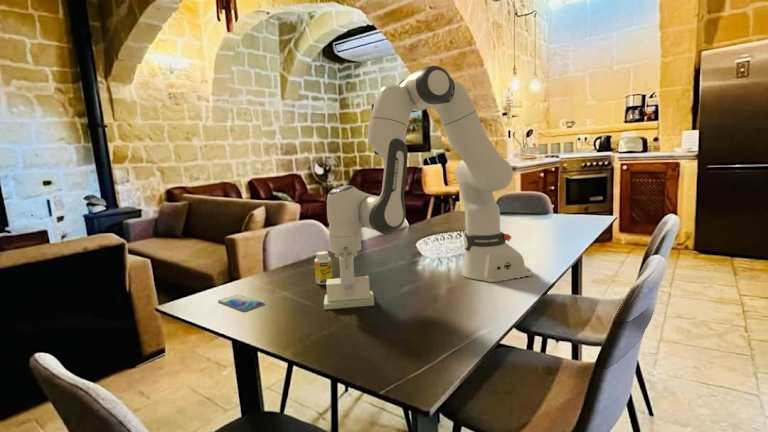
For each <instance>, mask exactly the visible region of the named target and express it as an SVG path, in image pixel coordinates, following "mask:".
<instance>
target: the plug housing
mask: <svg viewBox="0 0 768 432" xmlns="http://www.w3.org/2000/svg"><path fill="white" fill-rule="evenodd" d="M354 279H355V283H354V285H352V295H351V296H346V294H345V286H342V285H341V279H340V277H337V278H332V279H327V282H326V284H325V285H326V295H327V301H328V302H330V301H342V300H354V299H365V298H370V291H371V288H370V278H369V275H364V276H354Z"/></svg>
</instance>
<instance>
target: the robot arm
mask: <svg viewBox="0 0 768 432" xmlns="http://www.w3.org/2000/svg"><path fill="white" fill-rule="evenodd" d="M377 93H378V94H377V96H376V98H375V101H374V104H373V108H372V110H371V114H370V118H369V123H368V129H367V141H368V143H369V145H370V147H371V148H372V150H374V152H376V153H377V154H378V155H379V156H380V157H381V158H382V160H383V165H384V168H383V174H382V175H383V177H382V184H381V185H382V187H381V193H380V195H373V194H370V193H367V192H364V191H362V190H359V189H358V188H356V187H355V186H354V185H351V184H350V185H349V184H348V185H346V184H345V185H342V186H341V185H340V186H337V187H334V188H332V189H331V190H330V191H329V192H328V194H327V199H326V217H327V218H326V219H327V222H328V225H329V231H328V240H329V242H328V243H329V251H330V253H333V254H334V257H335V258H337V259H338V260H339V263H338V264H339V275H340V277H339V278H340V279H341V285H342V286H345V294H346V296H351V295H352V285H354V283H355V279H354V277H355V269H354V258H355V257H356V256H358V251H359V252H360V250H361V249H362V241H361V237H362V236H361V229H362V228H367V229H369V230H372V231H376V232H378V233H380V234H382V235H392V234H394V233H396V232H398V231H399V230H400V229H401V228H402V227H403V224H404V222H405V220H406V205H405V190H406V182H407V181H406V180H407V170H408V159H409V158H408V157H409V156H408V153H409V151H408V147H407V146H408V145H406V144H407V143H406V141H407V140H406V139H407V130H408V125H409V122H410V121H409V119H410V116H411V114H412V113H417V112H420V111H424V110H428V109H429V108H432V109H434V110H435V112H436V114H437V115H438V117H439V120H440V123H441V125H442V128H443V129H444V132H445V135H446V137H447V140H448V142H449V144H450V146H451V148H452V149H453V151H455V153H456V154H457V155H458V156H459V157H460V158H461V160H460V161H459V162H457V163H456V165H455V167H454V170H453V171H454V172H453V173H454V174H453V175H454V178H455V180H456V182H457V183H458V186H459V189H460V194H461V196H462V197H461V198H462V201H463V207H464V218H465V219H464V222H465V223H464V225H465V232H464V236H463V245H464V250H465V252H464V261H463V266H462V267H463V268H462V269H461V275H462V276H463V277H465V278H468V279H472V280H476V281H477V280H479V281H485V282H489V283H495V282H503V280H504V281H509V279H510V280H515V279H514V278H517V279H521V278H520V277H523V278H526V277H525V276H529V275H532V276H533V271H532V269H530V267H528V266H526V264H525V260H524V257H523V255H522V253H520V252H519V251H517V250H516V249H515V248H513V246H511V245H509V244H508V243H507V242H509V241H511V240H512V236H511V235H510V234H509V233H504V232H502V231H501V210H500V206H499V205H498V203H497V202H496V199H495V196H494V193H493V192H498V191H502V190H504V189H506V188H508V186H509V185H510V184H511V183H512V180H513V176H514V171H513V167H512V165H511V163H510V162H508V161H507V160H506V159H505V158H504V157H503V156H502V155H501V154H500V153H499V152H498V150H497V149H496V147H495V146H494V144H493V143H492V142H491V140H490V139H489V137H488V135H487V134H486V131H485V130H484V127H483V125H482V122H481V120H480V117H479V114H478V112H477V110H476V107H475V105H474V102H473V101H472V98H471V97H470V95H469V93H468V91H467V90H466V88H465V87H464V85H463V84H462V83H460V82H459V81H454V79H452V77H451V75H450V73H449V72H447V70H446V69H445V68H443V67H442V66H439V65H428V66H425V67H423V68H422V69H418V70H416V71H414V72H412V73H411V74H409V76H407V77H405V78H404V79H402V80H401V81H400V82H399V83H398V85H397V84H389V85H385V86H383V87H382V88H381V89H380V90H379V91H378V92H377ZM529 277H530V276H529Z"/></svg>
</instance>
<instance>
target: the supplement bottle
mask: <svg viewBox="0 0 768 432" xmlns="http://www.w3.org/2000/svg"><path fill="white" fill-rule="evenodd" d="M315 255H316V257H315V259H314V261H313V262H314V272H315V273H314V274H315V283H316V284H318V285H322V286H323V285H326V282H327V279H333V268H332V267H333V266H332V265H333V264H332V258H331V257H330V255H329V252H328V251H323V250H322V251H318V252H316V253H315Z"/></svg>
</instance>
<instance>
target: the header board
mask: <svg viewBox="0 0 768 432" xmlns="http://www.w3.org/2000/svg"><path fill="white" fill-rule="evenodd" d="M370 306H371V307H372V306H375V297H374V292H373V290H370V298H365V299H354V300H342V301H330V302H328V301H327V294H324V300H323V310H324V311H325V310H335V309H346V308H358V307H370Z"/></svg>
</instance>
